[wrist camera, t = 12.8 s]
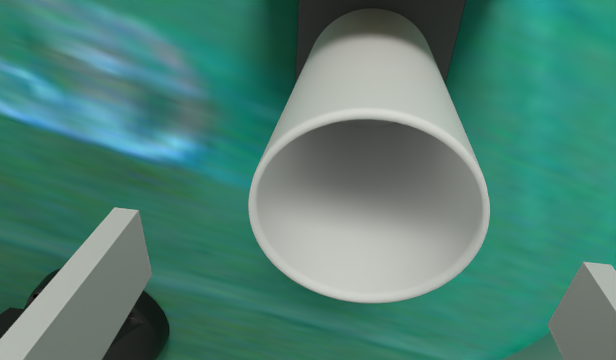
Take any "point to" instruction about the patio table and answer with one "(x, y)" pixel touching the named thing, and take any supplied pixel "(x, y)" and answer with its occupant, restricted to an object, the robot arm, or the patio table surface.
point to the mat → (409, 3)
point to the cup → (369, 169)
